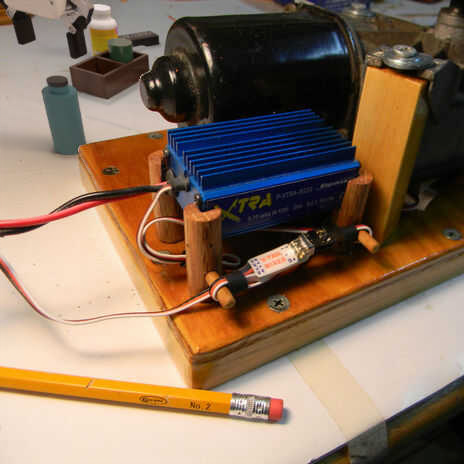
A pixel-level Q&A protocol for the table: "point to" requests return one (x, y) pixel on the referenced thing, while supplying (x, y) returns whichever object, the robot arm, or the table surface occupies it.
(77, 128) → the water bottle
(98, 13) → the supplement bottle
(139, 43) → the multiport hub
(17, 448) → the table surface
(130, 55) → the green jar
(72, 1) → the robot arm
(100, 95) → the cup holder
